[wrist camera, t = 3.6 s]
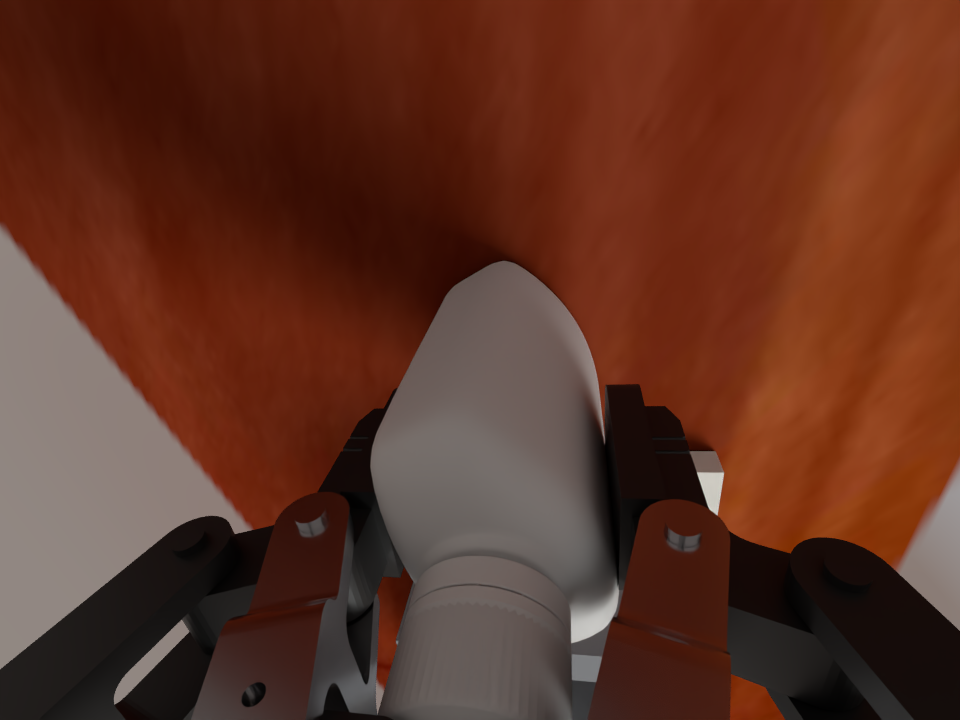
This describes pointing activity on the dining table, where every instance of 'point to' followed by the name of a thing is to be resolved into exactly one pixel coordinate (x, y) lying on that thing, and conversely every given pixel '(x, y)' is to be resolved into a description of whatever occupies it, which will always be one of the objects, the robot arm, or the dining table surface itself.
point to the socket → (592, 648)
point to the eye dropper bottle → (496, 505)
